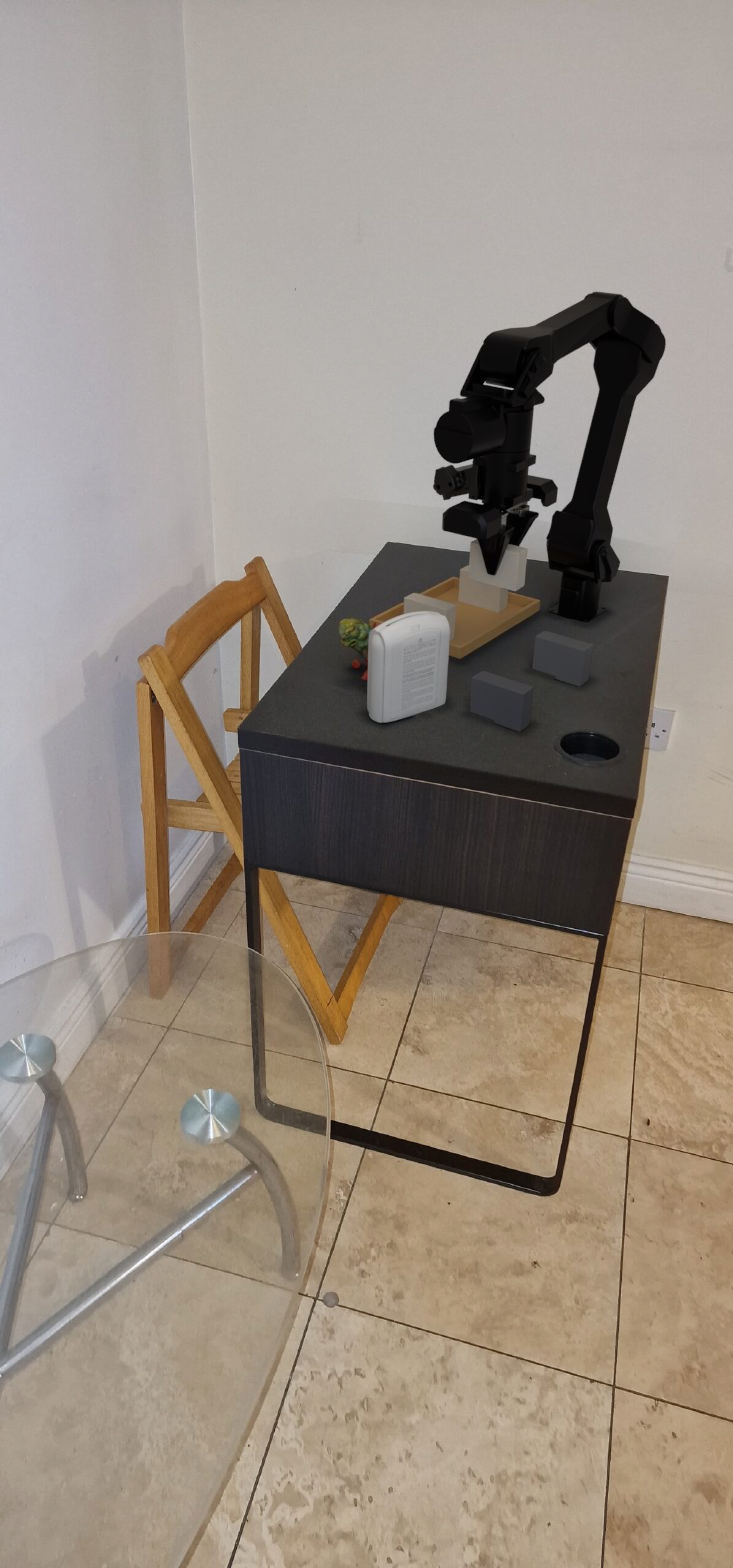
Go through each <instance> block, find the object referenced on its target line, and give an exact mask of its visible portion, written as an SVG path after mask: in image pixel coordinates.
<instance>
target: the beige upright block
mask: <svg viewBox="0 0 733 1568" xmlns="http://www.w3.org/2000/svg"><path fill="white" fill-rule="evenodd" d="M468 575H469V564H467V565H466V566H464V567H462V568H460V569H459V578H460V580H459V597H458V601H459V602H463V603H466V604H469V605H473V606H476V607H480V608H483V609H487V610H490V611H494V612H497V613H499V612H501V611H502V610H504V609H506V608H507V600H508V592H509V590H508V589H504V588H500V587H496V586H493V585H489V584H485V583H481V582H477V581H473V580H469V579H468Z"/></svg>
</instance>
